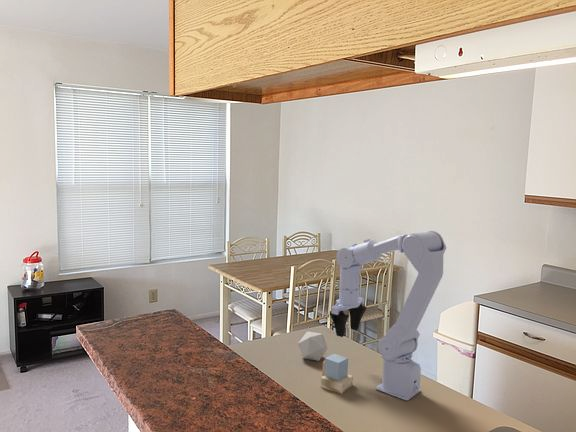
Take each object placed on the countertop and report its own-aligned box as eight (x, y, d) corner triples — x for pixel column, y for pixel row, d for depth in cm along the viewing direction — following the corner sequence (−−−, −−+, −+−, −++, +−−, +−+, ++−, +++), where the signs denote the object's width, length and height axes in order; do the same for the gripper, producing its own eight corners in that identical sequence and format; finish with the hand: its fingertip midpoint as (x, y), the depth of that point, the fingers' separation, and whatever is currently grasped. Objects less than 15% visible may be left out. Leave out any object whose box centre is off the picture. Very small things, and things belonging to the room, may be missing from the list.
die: (330, 358, 151) (319, 329, 155) (331, 354, 143) (319, 324, 147) (306, 367, 151) (295, 338, 155) (305, 364, 143) (294, 333, 147)
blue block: (347, 375, 132) (348, 358, 131) (337, 381, 128) (338, 362, 128) (334, 370, 134) (334, 353, 134) (324, 375, 131) (324, 358, 131)
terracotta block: (339, 372, 140) (340, 359, 139) (335, 378, 136) (336, 364, 136) (326, 370, 141) (327, 357, 141) (322, 375, 138) (322, 362, 137)
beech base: (352, 386, 132) (353, 375, 132) (341, 395, 127) (342, 384, 126) (332, 379, 136) (332, 369, 135) (320, 388, 130) (320, 377, 130)
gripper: (351, 281, 149) (349, 323, 151) (323, 289, 138) (321, 335, 140) (371, 285, 145) (369, 329, 146) (344, 294, 134) (342, 341, 135)
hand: (347, 332), depth 143 cm, fingers open, 7 cm apart
